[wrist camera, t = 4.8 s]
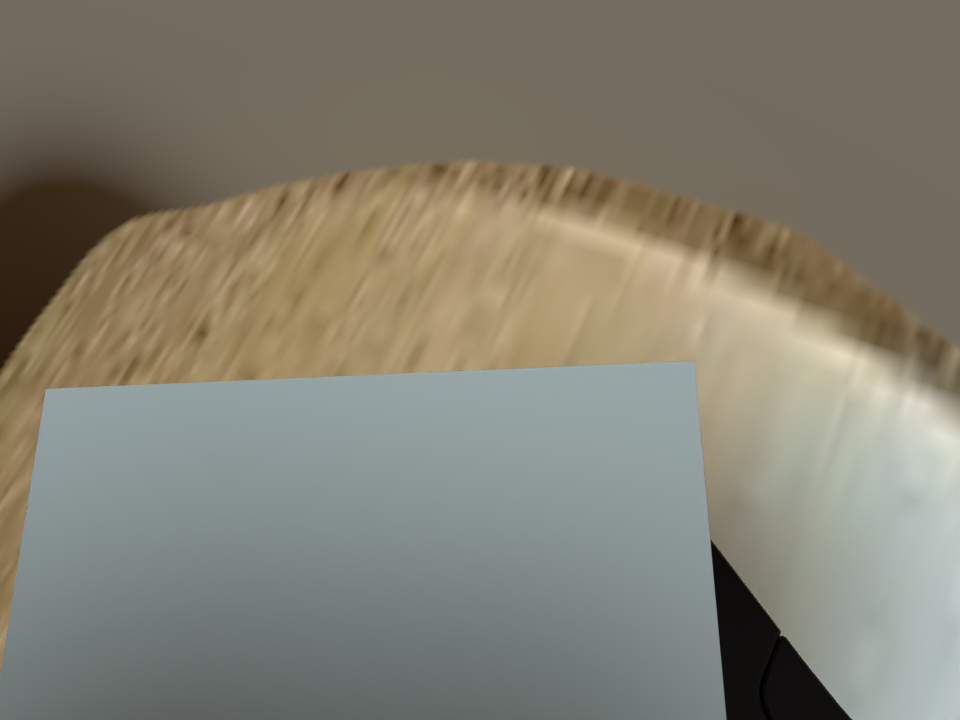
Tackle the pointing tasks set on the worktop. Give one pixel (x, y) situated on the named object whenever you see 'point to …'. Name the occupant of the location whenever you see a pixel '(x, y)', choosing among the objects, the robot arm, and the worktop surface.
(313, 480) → the slate peg
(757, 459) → the worktop surface
